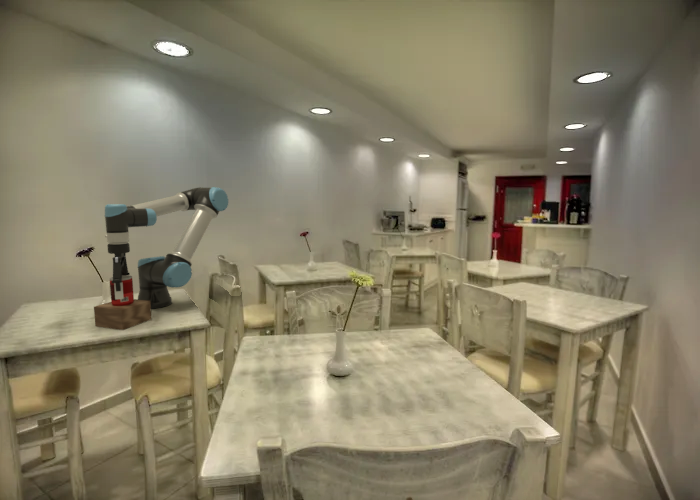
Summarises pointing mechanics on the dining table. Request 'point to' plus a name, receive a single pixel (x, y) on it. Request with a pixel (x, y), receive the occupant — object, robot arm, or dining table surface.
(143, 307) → the walnut block
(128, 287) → the canned food
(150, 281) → the robot arm
